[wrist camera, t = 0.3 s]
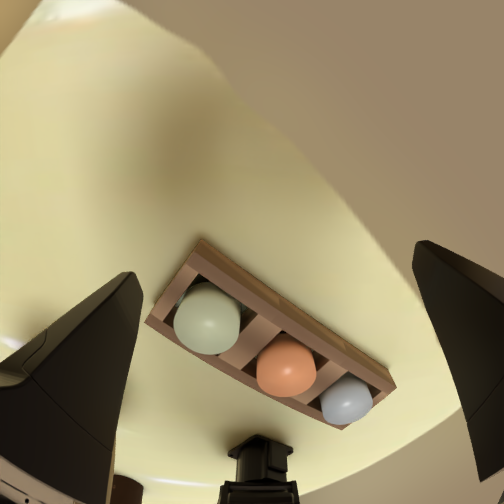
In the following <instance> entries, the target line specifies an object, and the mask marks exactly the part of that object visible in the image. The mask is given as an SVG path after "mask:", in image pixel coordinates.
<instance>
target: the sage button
mask: <svg viewBox="0 0 504 504" xmlns="http://www.w3.org/2000/svg"><path fill="white" fill-rule="evenodd" d="M240 318H241V305H240V302H239V301H238V300H237V299H236V298H234V297H233V296H231V295H230V294H228V293H227V292H225V291H224V290H222V289H221V288H219V287H218V286H217V285H215V284H214V283H212V282H203V283H199V284H197V285H194V286H193V287H191V288H190V289H189V290H188V291H187V292H186V294H185V295H184V297H183V300H182V302H181V304H180V306H179V308H178V310H177V313H176V315H175V317H174V331H175V333H176V335H177V337H178V339H179V340H180V341H181V342H182V344H184V345H185V346H186V347H187V348H189V349H191V350H192V351H195V352H197V353H201V354H208V355H213V354H219V353H222V352H225V351H227V350H228V349H230V348H231V347H232V346H233V345H234V344H235V342H236V341H237V338H238V335H239V328H240Z"/></svg>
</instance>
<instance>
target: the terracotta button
mask: <svg viewBox="0 0 504 504" xmlns="http://www.w3.org/2000/svg"><path fill="white" fill-rule="evenodd" d="M315 379H316V368H315V364H314V359H313V355H312V351H311V348H310V347H309V346H307V345H305V344H304V343H302V342H301V341H299V340H298V339H296V338H294V337H293V336H291V335H290V334H288V333H285V334H278V335H276V336H275V337H274V338H273V339H272V340H271V341H270V342H269V343H268V344H267V345H266V346H265V347H264V348H263V349H262V350H261V351H260V352H259V353H258V354H257V383H258V385H259V386H260V388H261V389H262V390H263V391H264V392H266V393H268V394H270V395H273V396H277V397H291V396H295V395H298V394H301V393H303V392H304V391H306V390H307V389H309V388H310V387H311V386H312V384H313V383H314V381H315Z"/></svg>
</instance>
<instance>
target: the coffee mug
mask: <svg viewBox="0 0 504 504" xmlns="http://www.w3.org/2000/svg"><path fill="white" fill-rule="evenodd" d="M142 495H143V486H142V485H141V484H140V483H138V482H137V481H135V480H133V479H131V478H128V477H125V476H121V475H113V482H112V490H111V497H110V504H142Z"/></svg>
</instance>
